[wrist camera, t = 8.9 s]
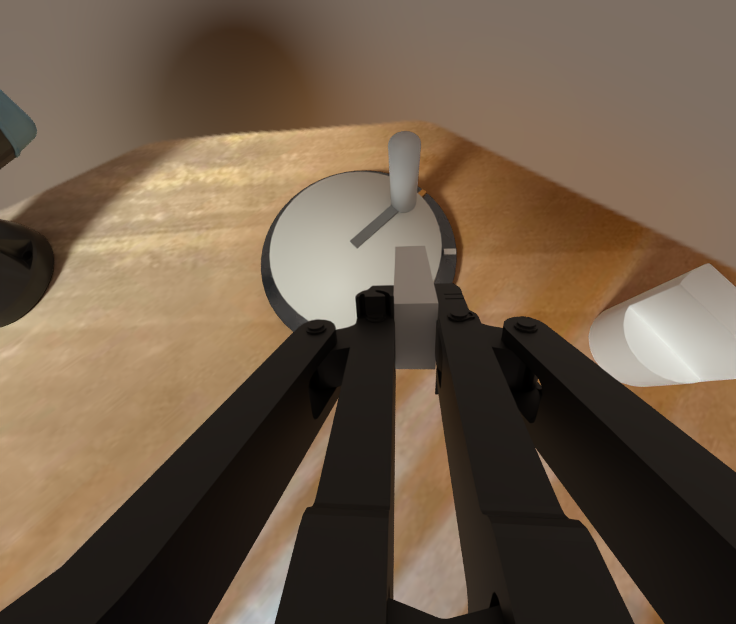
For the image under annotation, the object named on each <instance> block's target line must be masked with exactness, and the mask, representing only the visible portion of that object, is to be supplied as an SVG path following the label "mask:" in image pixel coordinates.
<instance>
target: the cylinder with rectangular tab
mask: <svg viewBox="0 0 736 624" xmlns="http://www.w3.org/2000/svg"><path fill="white" fill-rule="evenodd" d="M589 346H590V350H591V352H592V355H593V358H594V359H595V361H596V362H597V363H598V365H599V366H600V367H601V368H602V369H603V370H605V371H606V372H607V373H609V374H610V375H611V376H612V377H614V378H615V379H616V380H618V381H619V382H621V383H625V384H628V385H631V386H641V387H647V386H661V385H675V384H689V383H696V382H701V381H714V380H727V379H736V287H735V286H734V285H733V284H732V283H731V282H730V281H729V280H727V279H726V278H725V277H724V276H723V275H722V274H721V273H720V272H719V271H717V270H716V269H715V268H714V267H713V266H712V265H711V264H710V263H708V264H704V265H702V266H700V267H698V268H696V269H693V270H691V271H689V272H687V273H685V274H683V275H680V276H678V277H676V278H674V279H672V280H670V281H667V282H665V283H663V284H661V285H659V286H657V287H654V288H652V289H650V290H648V291H646V292H644V293H641V294H639V295H637V296H635V297H633V298H630V299H628V300H626V301H624V302H622V303H620V304H617V305H615V306H613V307H611V308H609V309H607V310H605V311H603V312H602V313H601V314H600V315H598V316H597V317H596V318H595V320H594V322H593V324H592V325H591V327H590V332H589Z"/></svg>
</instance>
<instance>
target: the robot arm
mask: <svg viewBox="0 0 736 624" xmlns="http://www.w3.org/2000/svg"><path fill="white" fill-rule="evenodd" d="M36 134H37V129H36V125H35V123H34V122H33V120H32V119H31V118H30V117H29V116H28V115H27V114H26V113H25V112H24V111H23V110H22V109H21V108H20V107H19V106H18V105H17V104H15V103H14V102H13V101H12V100H11V99H10V98H9V97H8V96H7V95H6V94H5V93H3V91H2V90H0V169H1V168H3V167H4V166H5V165H6V164H8V163H9V162H10V161H12V160H13V159H14V158H16V157H18V156H20V152H21V151H22V150H23V149H24V148H25V147H26V146H27V145H28V144H29V143H30V142H31V141H32V140H33V139H34V138H35V137H36ZM53 265H54V258H53V252H52V248H51V246H50V244H49V242H48V241H47V240H46V238H45V237H44V236H42V235H41V234H40V233H38V232H36V231H34V230H32V229H30V228H28V227H26V226H23V225H21V224H19V223H15V222H12V221H7V220H2V219H0V327H3V326H6V325H8V324H10V323H12V322H14V321H16V320H17V319H19V318H20V317H22V316H23V315H24V314H26V313H27V312H28V311H29V310H30V309H31V308H32V307H33V306H34V305H35V304H36V303H37V302H38V300H39V299H40V298H41V296H42V295H43V293H44V292H45V290H46V288H47V286H48V284H49V281H50V279H51V276H52V272H53ZM355 301H356V313H357V320H356V324H354V325H352V326H350V327H346V328H342V329H336V327H335V324H334V323H332V322H331V321H328V320H320V319H315V320H311V321H308V322H306V323H303V324H302V325H301V326H299V327H298V328H297V329H296V330H295V331H294V332H293V333H292V334H291V335H290V336H289V337H288V338H287V339H286V340H285V341H284V342H283V343H282V344H281V345H280V346H279V347H278V348H277V349H276V350H275V351H274V352H273V353H272V354H271V355H270V356H269V357H268V358H267V359H266V360H265V362H264V363H263V364H262V365H261V366H260V367H259V368H258V369H257V370H256V371H255V372H254V373H253V374H252V375H251V376H250V377H249V378H248V379H247V380H246V381H245V382H244V383H243V384H242V385H241V386H240V387H239V388H238V389H237V390H236V391H235V392H234V393H233V394H232V395H231V396H230V397H229V398H228V399H227V400H226V401H225V402H224V403H223V404H222V405H221V406H220V407H219V408H218V409H217V410H216V411H215V412H214V413H213V414H212V415H211V416H210V417H209V418H208V419H207V420H206V421H205V422H204V423H203V424H202V425H201V426H200V427H199V428H198V429H197V430H196V431H195V432H194V433H193V434H192V435H191V436H190V437H189V438H188V439H187V440H186V441H185V442H184V443H183V444H182V445H181V446H180V447H179V448H178V449H177V450H176V451H175V452H174V453H173V454H172V455H171V457H170V458H169V459H168V460H167V461H166V462H165V463H164V464H163V465H162V466H161V467H160V468H159V469H158V470H157V471H156V472H155V473H154V474H153V475H152V476H151V477H150V478H149V479H148V480H147V481H146V482H145V483H144V484H143V485H142V486H141V487H140V488H139V489H138V490H137V491H136V492H135V493H134V494H133V495H132V496H131V497H130V498H129V499H128V500H127V501H126V502H125V503H124V504H123V505H122V506H121V507H120V508H119V509H118V510H117V511H116V512H115V513H114V514H113V515H112V516H111V517H110V518H109V519H108V520H107V521H106V522H105V523H104V524H103V525H102V526H101V527H100V528H99V529H98V530H97V531H96V532H95V533H94V534H93V535H92V536H91V537H90V538H89V539H88V540H87V541H86V542H85V543H84V544H83V545H82V546H81V547H80V548H79V549H78V550H77V552H76V553H75V554H74V555H73V556H72V557H71V558H70V559H69V560H68V561H67V562H66V563H65V564H64V565H63V566H62V567H60V568H59V569H58V570H56V571H55V572H54V573H52V574H51V575H50V576H48V577H47V578H45V579H44V580H43V581H41V582H40V583H39V584H37V585H36V586H35V587H33V588H32V589H30V590H29V591H28V592H26V593H25V594H24V595H22V596H21V597H20V598H18V599H17V600H16V601H14V602H13V603H11V604H10V605H9V606H7V607H6V608H5V609H3V610H2V611H1V612H0V624H208V622H209V620H210V619H211V617H212V615H213V613H214V612H215V610H216V608H217V606H218V605H219V603H220V601H221V600H222V598H223V596H224V594H225V593H226V591H227V589H228V587H229V586H230V584H231V582H232V581H233V579H234V577H235V575H236V574H237V572H238V570H239V568H240V567H241V565H242V563H243V562H244V560H245V558H246V556H247V555H248V553H249V551H250V549H251V548H252V546H253V544H254V543H255V541H256V539H257V537H258V536H259V534H260V532H261V530H262V529H263V527H264V525H265V524H266V522H267V520H268V518H269V517H270V515H271V513H272V511H273V510H274V508H275V506H276V505H277V503H278V501H279V499H280V498H281V496H282V494H283V492H284V491H285V489H286V487H287V486H288V484H289V482H290V480H291V479H292V477H293V475H294V473H295V472H296V470H297V468H298V467H299V465H300V463H301V461H302V460H303V458H304V456H305V455H306V453H307V451H308V449H309V448H310V446H311V444H312V442H313V441H314V439H315V437H316V436H317V434H318V432H319V430H320V429H321V427H322V425H323V423H324V422H325V420H326V418H327V417H328V415H329V413H330V411H331V410H332V408H333V406H334V404H335V403H336V401H337V399H338V398H339V399H338V403H337V407H336V412H335V416H334V420H333V425H332V429H331V434H330V438H329V442H328V447H327V451H326V456H325V460H324V464H323V469H322V473H321V477H320V482H319V486H318V491H317V495H316V499H315V502H314V504H313V506H312V507H307V508H306V510H305V512H304V514H303V516H302V520H301V523H300V526H299V530H298V534H297V537H296V541H295V545H294V549H293V553H292V557H291V561H290V565H289V569H288V573H287V577H286V581H285V585H284V589H283V593H282V597H281V600H280V604H279V608H278V612H277V616H276V620H275V624H634V622H633V620H632V618H631V616H630V614H629V611H628V609H627V607H626V605H625V603H624V601H623V599H622V597H621V595H620V593H619V591H618V589H617V586H616V584H615V582H614V580H613V578H612V576H611V574H610V572H609V570H608V568H607V566H606V564H605V561H604V559H603V557H602V555H601V553H600V551H599V549H598V547H597V545H596V543H595V541H594V539H593V538H592V536H591V534H590V532H589V531H588V529H587V528H586V527H585V526H584V525H583V524H582V523H581V522H580V521H579V520H574V519H569V518H568V517H567V516H566V515H565V514H564V512H563V510H562V508H561V506H560V504H559V502H558V500H557V497H556V495H555V493H554V490H553V488H552V486H551V483H550V481H549V479H548V476H547V474H546V472H545V469H544V467H543V465H542V462H541V460H540V458H539V456H538V453H537V451H536V449H537V450H538V452H539V453H540V455H541V456H542V457H543V459H544V460H545V461H546V463H547V464H548V465H549V467H550V468H551V469H552V471H553V472H554V474H555V475H556V476H557V478H558V479H559V480H560V482H561V483H562V484H563V486H564V487H565V489H566V490H567V491H568V493H569V494H570V495H571V497H572V498H573V499H574V501H575V502H576V503H577V505H578V506H579V508H580V509H581V510H582V512H583V513H584V514H585V516H586V517H587V518H588V520H589V521H590V523H591V524H592V525H593V527H594V528H595V529H596V531H597V532H598V533H599V535H600V536H601V537H602V539H603V540H604V542H605V543H606V544H607V546H608V547H609V548H610V550H611V551H612V552H613V554H614V555H615V557H616V558H617V559H618V561H619V562H620V563H621V565H622V566H623V567H624V569H625V570H626V571H627V573H628V574H629V576H630V577H631V578H632V580H633V581H634V582H635V584H636V585H637V586H638V588H639V589H640V591H641V592H642V593H643V595H644V596H645V597H646V599H647V600H648V601H649V603H650V604H651V605H652V607H653V608H654V610H655V611H656V612H657V614H658V615H659V616H660V618H661V619H662V620H663V622H664V623H665V624H736V472H735V471H733V470H732V469H731V468H729V467H728V466H727V465H726V464H724V463H723V462H722V461H720V460H719V459H718V458H717V457H715V456H714V455H713V454H711V453H710V452H709V451H708V450H706V449H705V448H704V447H702V446H701V445H700V444H699V443H697V442H696V441H695V440H693V439H692V438H691V437H690V436H688V435H687V434H686V433H684V432H683V431H682V430H681V429H679V428H678V427H677V426H675V425H674V424H673V423H672V422H670V421H669V420H668V419H666V418H665V417H664V416H663V415H661V414H660V413H659V412H657V411H656V410H655V409H654V408H652V407H651V406H650V405H648V404H647V403H646V402H645V401H643V400H642V399H641V398H639V397H638V396H637V395H636V394H634V393H633V392H632V391H630V390H629V389H628V388H627V387H625V386H624V385H623V384H621V383H620V382H619V381H618V380H616V379H615V378H614V377H612V376H611V375H610V374H609V373H607V372H606V371H605V370H603V369H602V368H601V367H600V366H598V365H597V364H596V363H594V362H593V361H592V360H591V359H589V358H588V357H587V356H585V355H584V354H583V353H582V352H580V351H579V350H578V349H576V348H575V347H574V346H573V345H571V344H570V343H569V342H567V341H566V340H565V339H564V338H562V337H561V336H560V335H558V334H557V333H556V332H555V331H553V330H552V329H551V328H549V327H548V326H547V325H546V324H544V323H542V322H540V321H539V320H536V319H532V318H530V317H523V316H521V317H512V318H509V319H507V320H506V321H504V325H503V328H500V327H493V326H488V325H485V324H482V323H481V321H480V319H479V317H478V316H477V314H476V313H474V312H472V311H470V310H469V309H468V306H467V304H466V301H465V299H464V296H463V295H462V291H461V289H460V288H459V287H458V286H457V285H455V284H454V283H440V284H434V282H433V278H432V274H431V269H430V265H429V261H428V256H427V252H426V248H425V246H398V247H395V270H394V285H378V286H371V287H370V288H369V289H368V290H364V291H361V292H360V293H358V294H357V295H356V296H355ZM435 364H436V365H437V368H436V388H435V394H439V401H440V408H441V415H442V422H443V428H444V435H445V442H446V449H447V456H448V462H449V469H450V476H451V483H452V490H453V496H454V503H455V510H456V517H457V523H458V530H459V537H460V544H461V551H462V557H463V564H464V571H465V578H466V585H467V595H468V614H465V615H461V616H457V617H453V618H449V619H441V618H438V617H435V616H433V615H430V614H428V613H425V612H423V611H420V610H418V609H415V608H413V607H410V606H408V605H406V604H403V603H401V602H398V601H396V600H393V569H394V480H395V390H396V371H395V369H435ZM538 379H539V381H540V383H541V385H540V384H539V383H538V382H537V381H538ZM535 448H536V449H535Z"/></svg>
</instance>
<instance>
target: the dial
mask: <svg viewBox="0 0 736 624" xmlns="http://www.w3.org/2000/svg"><path fill="white" fill-rule="evenodd" d="M420 149H421V141H420V138H419V137H418V136H417V135H416V134H415V133H413V132H409V131H402V132H398V133H396V134H394V135H393V136H392V137H391V138H390V140H389V143H388V151H389V172H390V176H386V175H382V174H379V173H372V172H349V173H343V174H338V175H334V176H331V177H328V178H326V179H323V180H321V181H319V182H317V183H315V184H313V185H312V186H310V187H308V188H307V189H305V190H304V191H303V192H301V193H300V194H299V195H298V196H297V197H296V198H295V199H294V200H292V202H291V203H290V204H289V205H288V206H287V208H286V209H285V210H284V212H283V213H282V215H281V216H280V218H279V220H278V222H277V224H276V226H275V229H274V232H273V235H272V239H271V244H270V267H271V272H272V276H273V279H274V281H275V284H276V286H277V288H278V290H279V292H280V293H281V295H282V296H283V298H284V299H285V300H286V302H287V303H288V304H289V305H290V306H291V307H292V308H293V309H294V310H295V311H296V312H297V313H299V314H300V315H301V316H302V317H304V318H305V319H306V320H308V321H311V320H315V319H320V320H328V321H331V322H332V323H334V324H335V327H336V329H342V328H346V327H350V326H352V325H354V324H356V320H357V313H356V301H355V296H356V295H357V294H358V293H360V292H361V291H364V290H368V289H369V288H370V287H371V286H378V285H394V270H395V247H398V246H425V248H426V252H427V256H428V261H429V265H430V269H431V274H432V278H433V282H434V280H435V278H436V275H437V272H438V268H439V264H440V259H441V249H442V243H441V233H440V229H439V225H438V222H437V220H436V217H435V215H434V213H433V212H432V210H431V208H430V206H429V205H428V204H427V203H426V201H425V200H424V199H423V198H422V197H421V196H420V195H419V194H418V193H417V188H418V175H419V162H420Z"/></svg>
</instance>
